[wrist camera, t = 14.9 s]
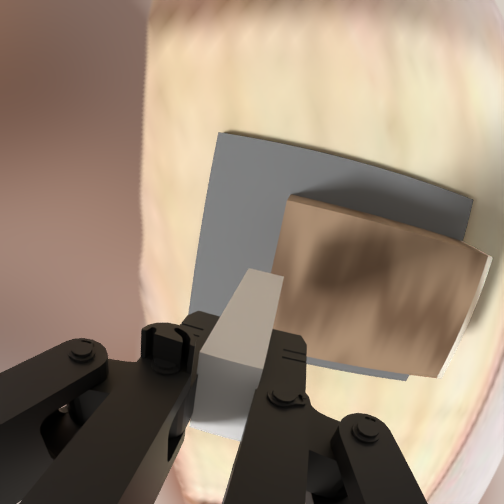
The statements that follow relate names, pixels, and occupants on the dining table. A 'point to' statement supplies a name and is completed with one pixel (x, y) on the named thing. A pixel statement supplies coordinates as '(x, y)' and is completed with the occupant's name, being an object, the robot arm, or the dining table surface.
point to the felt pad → (273, 207)
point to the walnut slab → (374, 288)
